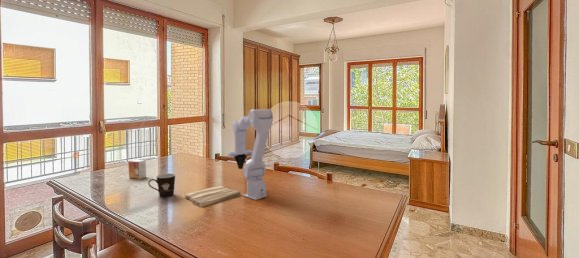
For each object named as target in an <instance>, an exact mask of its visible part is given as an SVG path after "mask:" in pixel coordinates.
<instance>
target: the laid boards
mask: <svg viewBox="0 0 579 258" xmlns="http://www.w3.org/2000/svg"><path fill="white" fill-rule="evenodd" d="M241 195H242V194H241V191H239V190H236V189H233V188H231V189H229V190H227V191H223V192H219V193H216V194H212V195H208V196H205V197H201V198H198V199H194V200H193V201H192V204H194V205H195V206H198V207H200V208H202V207H205V206H209V205H212V204H215V203H218V202H219V203H220V202H222V201H225V200H228V199H229V200H230V199H232V198H235V197H239V196H241Z"/></svg>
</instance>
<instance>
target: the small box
mask: <svg viewBox="0 0 579 258" xmlns="http://www.w3.org/2000/svg"><path fill="white" fill-rule="evenodd" d="M146 164H147V162H146V160H144V159H133V160H128V178H129V179H136V180H141V179H144V178H146V177H147V165H146Z"/></svg>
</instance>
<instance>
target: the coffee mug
mask: <svg viewBox="0 0 579 258" xmlns="http://www.w3.org/2000/svg"><path fill="white" fill-rule="evenodd" d="M151 181H154V182H155V183H156V184H157V187H158V188H156V187H153V186H152V185H151V184H150V182H151ZM175 182H176V174H175V173H161V174H158V175H157V176H156V179H155V178H152V179H150V180H149V181H148V183H147V184H148V186H149V187H150V188H151V189H154V190H155V191H157V192H158V194H159V197H160V198H170V197H172V196H174V194H175V193H174V192H175V185H176V183H175Z"/></svg>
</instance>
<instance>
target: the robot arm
mask: <svg viewBox="0 0 579 258" xmlns="http://www.w3.org/2000/svg"><path fill="white" fill-rule="evenodd" d="M273 121H274V115H273V111H272V110H271V108H264V109H260V108H259V109H250V110H249V111H248V115H247V116H246V115H243V116H242V117H241V118H239V119H238V120H236V121H235V120H234V121H232V131H233V134H234V135H233V137H234V151H232V152H228V153H227V157H228V158H232V157H233V158H234V159H235V162H236V164H237V168H238V169H240V170H242V174H243V177H244V178H245V180H246V193H244V194H243V196H244V197H246V198H249V199H251V200H253V201H257V200H259V199H260V200H261V199H262V198H266V197H268V194H267V182H266V181H265V180H263V179H264V176H265V174H266V163H265V161H264V160H263V157H264V154H265V150H266V145H267V141H268V136H269V133H270V130H271V129H272V126H273V125H272V124H273ZM251 126H252V129H253V130H254V131H256V136H255V140H254V143H253V144H254V145H253V148H252V149H247V150H246V135H247V131H248V128H249V127H251ZM248 155H251V158H250V159H249V160H247V161H246V159H247V157H248ZM245 161H246V162H245Z"/></svg>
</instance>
